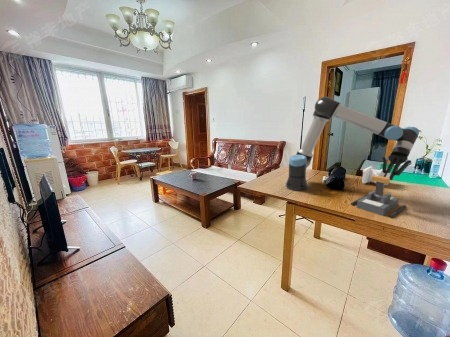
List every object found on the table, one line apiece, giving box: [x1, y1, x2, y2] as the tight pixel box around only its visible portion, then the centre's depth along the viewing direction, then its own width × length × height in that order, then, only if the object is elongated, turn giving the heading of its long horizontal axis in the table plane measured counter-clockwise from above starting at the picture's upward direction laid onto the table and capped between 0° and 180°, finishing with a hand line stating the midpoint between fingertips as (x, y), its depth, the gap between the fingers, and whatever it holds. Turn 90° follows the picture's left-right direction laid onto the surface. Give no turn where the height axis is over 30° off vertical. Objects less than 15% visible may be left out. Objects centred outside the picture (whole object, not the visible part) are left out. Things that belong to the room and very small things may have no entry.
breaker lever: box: [372, 175, 391, 199], centre depth 102 cm, size 2×7×13 cm, turn 32°
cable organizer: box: [361, 166, 388, 185], centre depth 139 cm, size 15×11×12 cm
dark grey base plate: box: [350, 194, 407, 219], centre depth 105 cm, size 18×19×1 cm
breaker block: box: [356, 189, 400, 216], centre depth 104 cm, size 20×12×8 cm, turn 122°
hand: (385, 183), depth 105 cm, fingers closed
